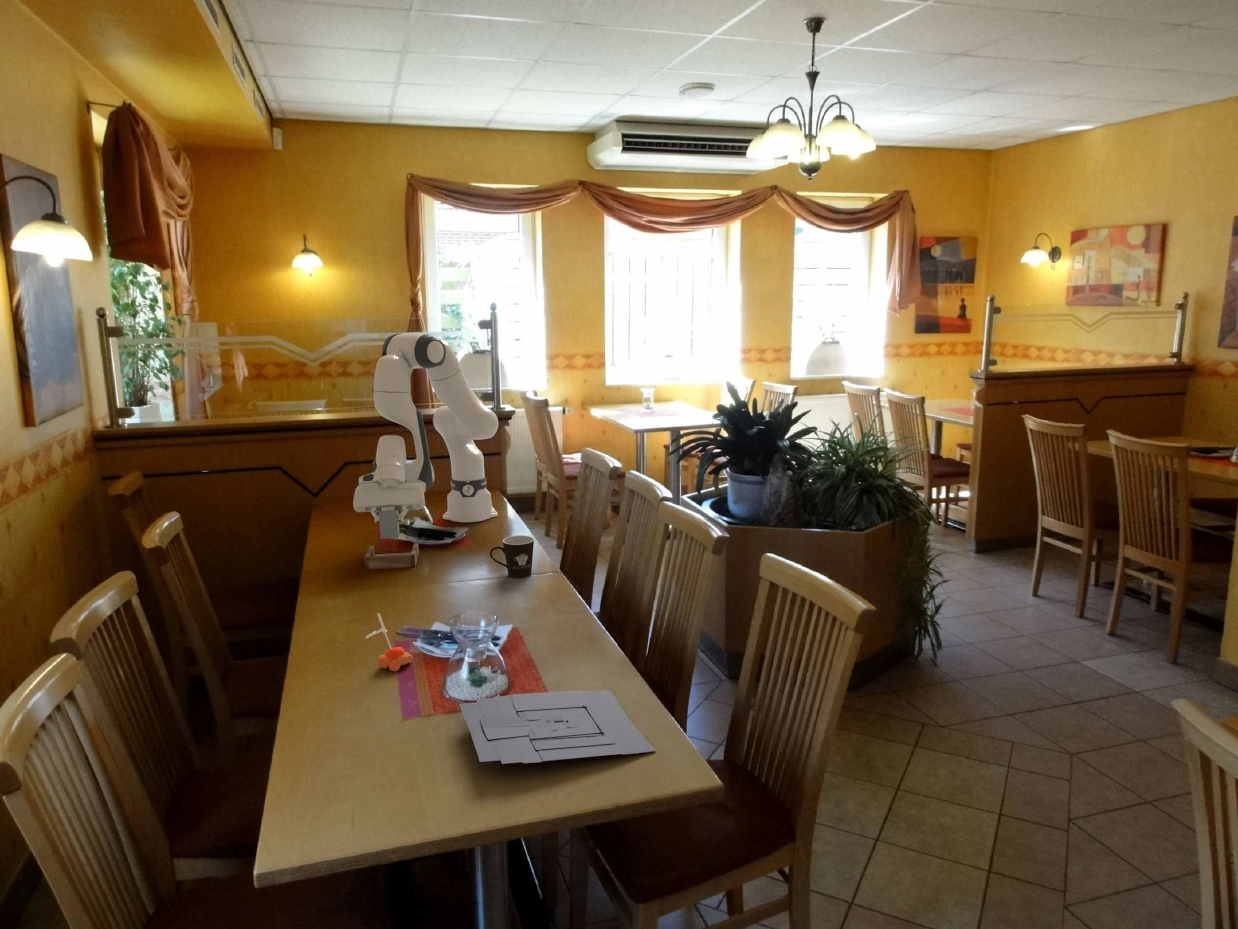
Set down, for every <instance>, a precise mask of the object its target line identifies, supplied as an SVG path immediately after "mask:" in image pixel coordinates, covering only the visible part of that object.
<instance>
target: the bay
mask: <svg viewBox="0 0 1238 929" xmlns="http://www.w3.org/2000/svg"><path fill="white" fill-rule="evenodd" d="M419 547H420V546H419V542H413V546H412V549H411V551H410V552H398V553H397V552H396V553H382V554H381V553H379V554H378V553H377V554H376V549H375V548H376V546H375V545H373V544H372V545H371V544H370V545H369V547H368V549H367V551H366V554H365V555H364V558H363V562H364V570H365V571H368V570H382V569H383V570H384V569H402V568H415V567H416V566H417V562H418V559H419V555H420V550H419V549H420V548H419Z"/></svg>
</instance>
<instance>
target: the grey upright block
mask: <svg viewBox="0 0 1238 929" xmlns="http://www.w3.org/2000/svg"><path fill="white" fill-rule="evenodd" d="M398 515H399V510H398V508H395V506H383V507H382V508H381V509H380V510H379V511H378V516H379V523H378V524H379V535H380V536H379V537H380V539H381V540H382V539H385V540H386V539H399V538H400V534H401V533H400V532H401V531H400V522H398Z"/></svg>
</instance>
